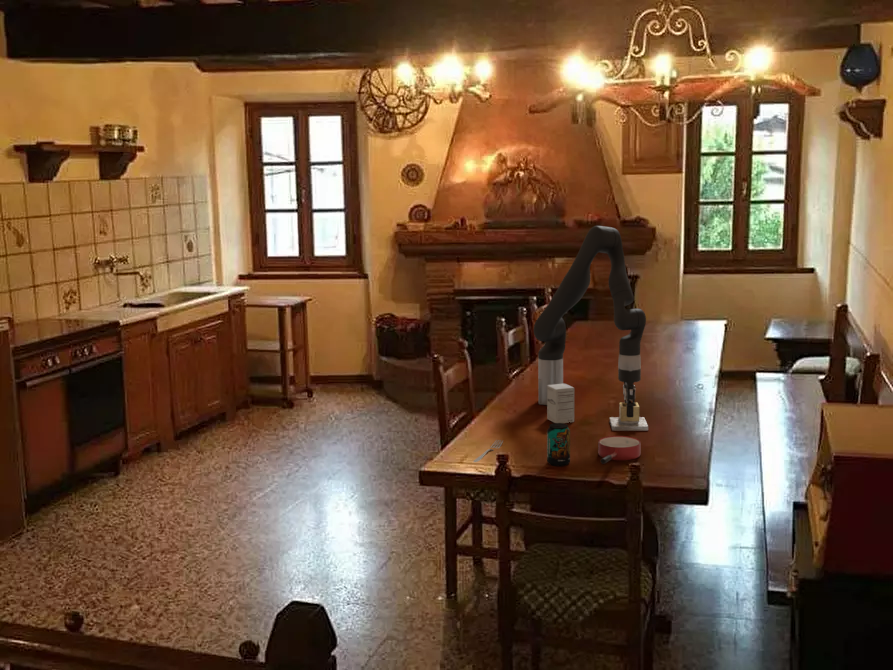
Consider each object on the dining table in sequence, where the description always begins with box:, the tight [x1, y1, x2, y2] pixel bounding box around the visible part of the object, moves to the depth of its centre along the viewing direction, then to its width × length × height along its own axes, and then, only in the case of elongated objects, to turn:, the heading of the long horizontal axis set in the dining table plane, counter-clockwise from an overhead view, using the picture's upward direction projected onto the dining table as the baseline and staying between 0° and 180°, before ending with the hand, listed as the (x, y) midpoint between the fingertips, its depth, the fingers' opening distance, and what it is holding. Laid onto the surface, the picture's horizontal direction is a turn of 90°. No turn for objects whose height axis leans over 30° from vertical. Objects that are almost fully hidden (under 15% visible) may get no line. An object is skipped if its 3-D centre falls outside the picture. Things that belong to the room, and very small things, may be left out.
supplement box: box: [546, 382, 575, 424], centre depth 360 cm, size 7×7×13 cm
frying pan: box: [597, 435, 642, 465], centre depth 311 cm, size 32×13×6 cm, turn 166°
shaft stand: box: [609, 416, 649, 432], centre depth 352 cm, size 12×12×7 cm
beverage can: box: [546, 422, 571, 467], centre depth 311 cm, size 7×7×12 cm
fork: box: [473, 439, 504, 463], centre depth 324 cm, size 3×24×2 cm, turn 155°
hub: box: [618, 402, 640, 421], centre depth 352 cm, size 6×6×5 cm
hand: (629, 414), depth 352 cm, fingers open, 6 cm apart
